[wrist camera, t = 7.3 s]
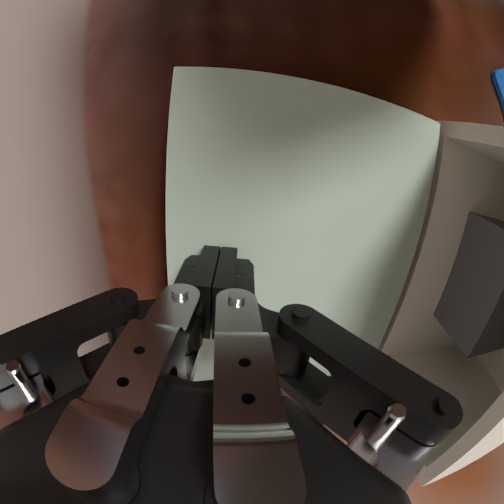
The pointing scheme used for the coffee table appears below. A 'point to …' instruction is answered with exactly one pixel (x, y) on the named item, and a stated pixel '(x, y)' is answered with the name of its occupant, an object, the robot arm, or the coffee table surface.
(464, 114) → the coffee table surface
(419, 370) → the case
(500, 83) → the handheld gaming device
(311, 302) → the door
